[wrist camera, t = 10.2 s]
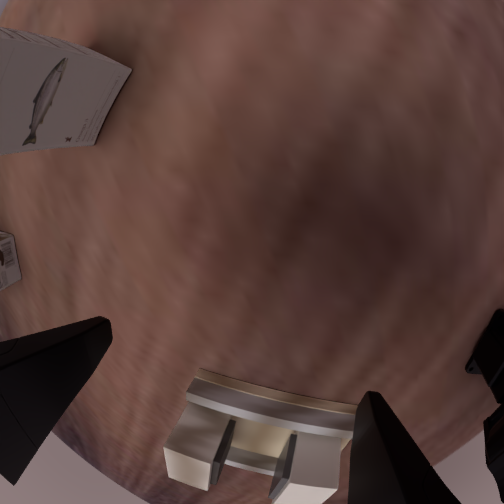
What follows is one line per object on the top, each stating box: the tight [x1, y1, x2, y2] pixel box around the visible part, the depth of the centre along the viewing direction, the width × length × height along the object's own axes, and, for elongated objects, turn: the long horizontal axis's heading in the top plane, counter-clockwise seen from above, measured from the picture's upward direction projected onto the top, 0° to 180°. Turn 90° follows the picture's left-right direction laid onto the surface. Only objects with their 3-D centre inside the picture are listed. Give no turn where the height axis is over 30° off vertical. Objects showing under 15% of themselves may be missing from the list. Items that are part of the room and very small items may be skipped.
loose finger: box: [268, 431, 341, 504], centre depth 21 cm, size 5×7×7 cm, turn 170°
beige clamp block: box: [164, 369, 358, 491], centre depth 22 cm, size 16×12×8 cm
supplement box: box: [0, 27, 132, 155], centre depth 13 cm, size 7×7×13 cm
